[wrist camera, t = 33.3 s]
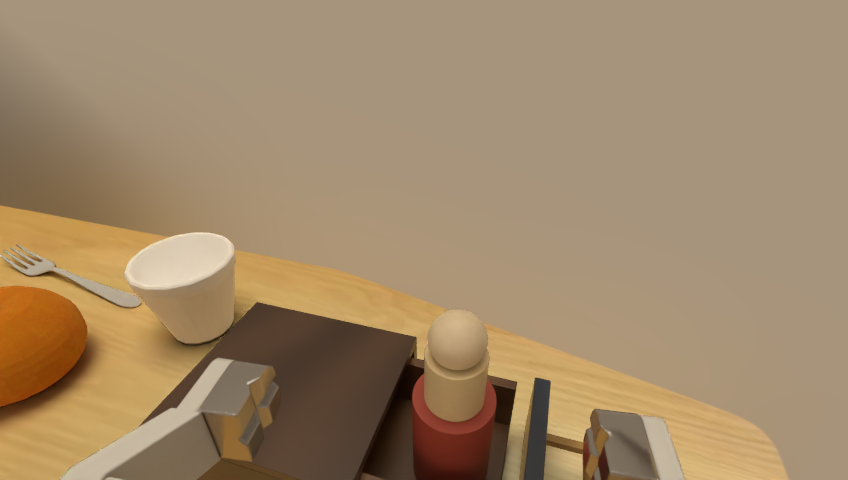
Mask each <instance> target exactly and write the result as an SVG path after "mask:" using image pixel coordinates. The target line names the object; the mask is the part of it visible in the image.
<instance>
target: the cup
mask: <svg viewBox="0 0 848 480" xmlns="http://www.w3.org/2000/svg"><path fill="white" fill-rule="evenodd" d="M235 263H236V261H235V250H234V246H233V244H232V243H231V242H230V241H229V240H228V239H227V238H226V237H224V236H220V235H217V234H213V233H188V234H182V235H176V236H172V237H169V238H167V239H164V240H161V241H158V242H155V243H153V244H152V245H150V246H148V247H146V248H145V249H143V250H141V251H139V252H138V253H137V254H136V255H135V256H134V257H133V258H132V259H131V260H130V261H129V262H128V264H127V267H126V270H125V273H124V276H125V277H126V279H127V281H128V283H129V285H130V287H131V288H132V290H133V291H134V293H136V294H137V295H138V296H139V297H140V298H141V299H142V300H143V301H144V302H145V304H146V305H147V306H148V307H149V308H150V309H151V311H152V312H153V313H154V314H155V315H156V316H157V317H158V319H159V320H160V321H161V322H162V323H163V324H164V325H165V327H166V328H167V329H168V330H169V331H170V332H171V334H172V335H173V336H174V337H175V338H176V339H177V340H178V341H180V342H183V343H185V344H191V345H199V344H203V343H207V342H211V341H213V340H215V339H217V338H219V337H221V336H222V335H223V334H224V333H225V332H227V331H228V330H229V329H230V327H231V325H232V323H233V321H234V266H235Z"/></svg>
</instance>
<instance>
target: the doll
mask: <svg viewBox="0 0 848 480" xmlns="http://www.w3.org/2000/svg"><path fill="white" fill-rule="evenodd" d="M487 345H488V336H487V331H486V328H485V326H484V324H483V323H482V321H481V320H480V319H479V318H478V317H477V316H476V315H474V314H473V313H471V312H469V311H466V310H462V309H453V310H448V311H446V312H444V313H442V314H440V315H439V316H438V317H437V318H436V319H435V320H434V321H433V323H432V324H431V326H430V329H429V333H428V344H427V346H426V348H425V352H424V374H423V375H422V376H421V377H420V378H419V379H418V380H417V382H416V384H415V386H414V389H413V393H412V420H413V468H414V474H415V477H416V480H485V479H486V475H487V469H488V462H489V455H490V447H491V440H492V433H493V426H494V419H495V412H496V405H497V399H496V394H495V390H494V388H493V386H492V385H491V383H490V382H489V380H488V379H487V375H488V366H489V352H488V350H487Z"/></svg>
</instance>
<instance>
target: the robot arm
mask: <svg viewBox="0 0 848 480" xmlns="http://www.w3.org/2000/svg"><path fill="white" fill-rule="evenodd" d="M275 376H276V374H275V371H274V367H273V366H267V365H261V364H255V363H249V362H243V361H237V360H230V359H223V358H217V359H215V360H213V361H212V362H211V363H210V364H209V366H208V367H207V368H206V370H205V371H204V372H203V374H202V375H201V376H200V378H199V379H198V380H197V382H196V383H195V384H194V386H193V387H192V388H191V390H190V391H189V392H188V394H187V395H186V396H185V398H184V399H183V400H182V402H181V403H180V404H179V406H178V407H177V408H170V409H168V410H167V411H165V412H163V413H162V414H160V415H158V416H156V417H155V418H153V419H151V420H150V421H148V422H146V423H145V424H143V425H141V426H140V427H138V428H136V429H134V430H133V431H131V432H129V433H128V434H126V435H124V436H123V437H121V438H119V439H118V440H116V441H114V442H112V443H111V444H109V445H107V446H106V447H104V448H102V449H101V450H99V451H97V452H96V453H94V454H92V455H91V456H89V457H87V458H85V459H84V460H82V461H80V462H79V463H77V464H75V465H74V466H72V467H70V468H69V469H68V470H67V472H66V473H65V474H64V475H63V476H62V477H61V479H60V480H197V479H198V478H200V477H201V476H202V475H203V474H204V473H205V472H207V471H208V470H209V469H210V468H211V467H213V466H214V465H215V464H216V463H217V462H218V461H220V459H221V458H228V459H235V460H243V461H250V462H252V461H253V459H254V457H255V455H256V453H257V451H258V450H259V448H260V446H261V444H262V442H263V440H264V433H263V429H264V428H265V427H267V426H268V425H270V424H271V423H272V422H273V420H274V418H275V416H276V414H277V412H278V408H279V404H280V389H279V386H278V385H277V384H276V383H275V382H274V381H273V379H274V378H275ZM590 421H591V427H590V428H589V429H587V430H586V433H585V436H584V442H583V461H584V468H585V471H586V472H587V474H588V475H589V476H590V477H591V480H686V479H685V476H684V473H683V470H682V468H681V465H680V462H679V459H678V456H677V453H676V450H675V448H674V445H673V442H672V439H671V436H670V433H669V430H668V428H667V425H666V422H665V421H664V420H663V418H660V417H653V416H645V415H638V414H634V413H626V412H617V411H609V410H601V409H594V410H593V411H592V414H591V417H590Z"/></svg>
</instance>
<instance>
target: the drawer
mask: <svg viewBox="0 0 848 480" xmlns="http://www.w3.org/2000/svg"><path fill="white" fill-rule="evenodd" d="M423 374H424V360H420V359H416V358H412V357H411V358H410V360H409V363H408V365H407V367H406V370H405V372H404V374H403V377H402V379H401V381H400V384H399V386H398V388H397V391H396V393H395V395H394V398H393V400H392V402H391V405H390V407H389V409H388V412H387V414H386V416H385V419H384V421H383V423H382V426H381V428H380V430H379V433H378V435H377V437H376V440H375V442H374V444H373V446H372V449H371V451H370V453H369V456H368V458H367V460H366V463H365V465H364V467H363V470H362V472H361V474H360V477H359V479H358V480H416V477H415V474H414V468H413V420H412V393H413V389H414V386H415V384H416V382H417V380H418V379H419V378H420V377H421V376H422V375H423ZM487 379H488V380H489V382H490V383H491V385H492V386H493V388H494V390H495V394H496V399H497V405H496V412H495V419H494V426H493V433H492V440H491V447H490V455H489V462H488V469H487V475H486V479H485V480H502V473H503V467H504V460H505V454H506V447H507V441H508V434H509V428H510V422H511V416H512V410H513V404H514V398H515V393H516V386H517V382H515V381H511V380H507V379H502V378H498V377H494V376H489V375H487ZM550 383H551V382H550V381H549V380H544V379H540V378H535V381H534V385H533V390H532V395H531V400H530V405H529V410H528V415H527V420H526V426H525V435H524V443H523V452H522V460H521V468H520V477H519V480H544V466H545V452H546V445H548V446H552V447H556V448H560V449H564V450H567V451H571V452H575V453H579V454H582V453H583V443H582V442H578V441H575V440H571V439H567V438H563V437H559V436H555V435H551V434H547V424H548V410H549V396H550ZM583 480H591V477H590V476H589V475H588V474H587V472H586V471H585V468H584V461H583Z"/></svg>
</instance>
